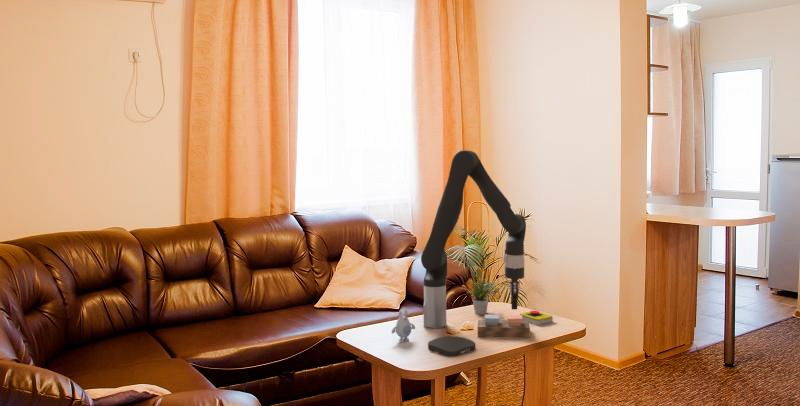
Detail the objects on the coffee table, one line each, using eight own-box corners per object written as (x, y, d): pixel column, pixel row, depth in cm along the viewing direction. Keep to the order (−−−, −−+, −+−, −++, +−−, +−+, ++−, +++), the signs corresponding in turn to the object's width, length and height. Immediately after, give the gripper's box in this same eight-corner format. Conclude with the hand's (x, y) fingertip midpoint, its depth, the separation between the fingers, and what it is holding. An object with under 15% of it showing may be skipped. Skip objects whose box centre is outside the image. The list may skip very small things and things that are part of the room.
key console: (477, 336, 229) (477, 326, 228) (478, 329, 238) (478, 319, 238) (529, 338, 225) (529, 328, 225) (528, 330, 235) (528, 320, 235)
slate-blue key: (484, 329, 230) (484, 318, 230) (484, 324, 236) (484, 314, 235) (499, 329, 229) (499, 318, 229) (499, 325, 235) (498, 314, 234)
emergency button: (531, 306, 257) (557, 314, 244) (531, 316, 257) (557, 324, 244) (515, 310, 252) (542, 318, 239) (516, 320, 252) (542, 328, 239)
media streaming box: (452, 340, 226) (451, 333, 225) (480, 349, 214) (479, 341, 214) (423, 349, 216) (423, 341, 216) (451, 359, 205) (451, 351, 205)
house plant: (500, 317, 255) (500, 280, 254) (469, 318, 255) (468, 281, 253) (494, 309, 269) (494, 274, 268) (464, 309, 269) (464, 274, 268)
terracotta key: (507, 329, 229) (507, 318, 228) (507, 325, 234) (507, 314, 234) (522, 329, 228) (522, 319, 227) (521, 325, 233) (521, 315, 233)
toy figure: (396, 345, 220) (395, 314, 219) (387, 341, 225) (387, 311, 224) (419, 340, 225) (419, 310, 224) (411, 336, 231) (410, 306, 230)
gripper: (504, 262, 236) (504, 304, 238) (505, 268, 223) (504, 313, 225) (523, 262, 235) (523, 304, 236) (525, 269, 222) (524, 313, 223)
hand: (514, 308), depth 230 cm, fingers closed
